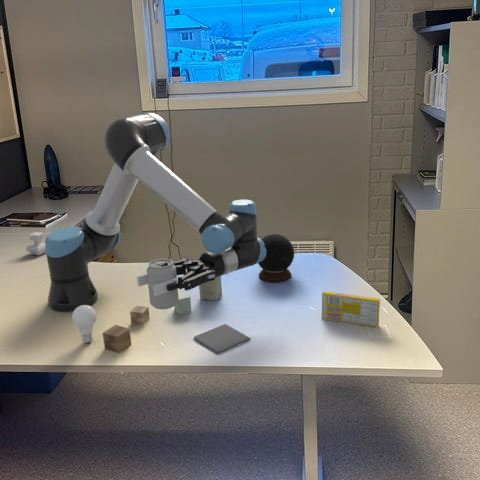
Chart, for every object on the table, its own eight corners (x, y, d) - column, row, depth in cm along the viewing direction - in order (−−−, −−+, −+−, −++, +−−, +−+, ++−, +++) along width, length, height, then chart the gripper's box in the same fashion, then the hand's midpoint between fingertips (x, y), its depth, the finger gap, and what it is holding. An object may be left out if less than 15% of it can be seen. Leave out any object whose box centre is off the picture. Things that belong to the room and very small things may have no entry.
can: (173, 311, 144) (169, 268, 140) (146, 310, 145) (141, 267, 141) (182, 299, 151) (179, 257, 147) (156, 297, 152) (152, 256, 148)
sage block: (174, 309, 171) (173, 294, 170) (187, 306, 173) (186, 292, 171) (178, 314, 168) (177, 299, 166) (191, 312, 169) (190, 297, 168)
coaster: (193, 338, 154) (193, 336, 154) (225, 325, 160) (225, 323, 160) (217, 354, 146) (217, 352, 146) (250, 339, 152) (250, 337, 152)
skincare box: (222, 295, 180) (220, 259, 176) (217, 300, 176) (215, 264, 172) (204, 293, 182) (201, 258, 178) (198, 298, 178) (196, 262, 174)
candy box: (379, 325, 158) (380, 298, 155) (377, 328, 156) (379, 301, 153) (323, 315, 164) (323, 290, 161) (321, 319, 162) (321, 293, 159)
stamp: (41, 249, 229) (38, 229, 226) (53, 251, 226) (50, 231, 223) (24, 256, 221) (21, 236, 218) (37, 258, 218) (33, 238, 215)
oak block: (131, 323, 164) (129, 311, 162) (137, 317, 167) (136, 305, 166) (143, 325, 163) (142, 312, 161) (149, 319, 166) (148, 306, 165)
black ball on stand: (302, 276, 191) (302, 235, 186) (272, 287, 184) (272, 244, 179) (277, 266, 201) (276, 226, 196) (248, 275, 194) (246, 234, 189)
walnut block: (104, 349, 151) (102, 332, 149) (117, 340, 155) (115, 324, 153) (118, 353, 148) (116, 336, 146) (131, 345, 152) (129, 328, 150)
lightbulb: (78, 337, 157) (73, 301, 153) (101, 335, 157) (96, 300, 154) (74, 348, 151) (68, 312, 147) (98, 347, 151) (93, 310, 148)
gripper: (241, 285, 150) (168, 312, 137) (197, 265, 165) (128, 287, 152) (240, 259, 147) (165, 284, 134) (196, 241, 163) (125, 261, 149)
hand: (146, 285), depth 143 cm, fingers closed on can, 7 cm apart
